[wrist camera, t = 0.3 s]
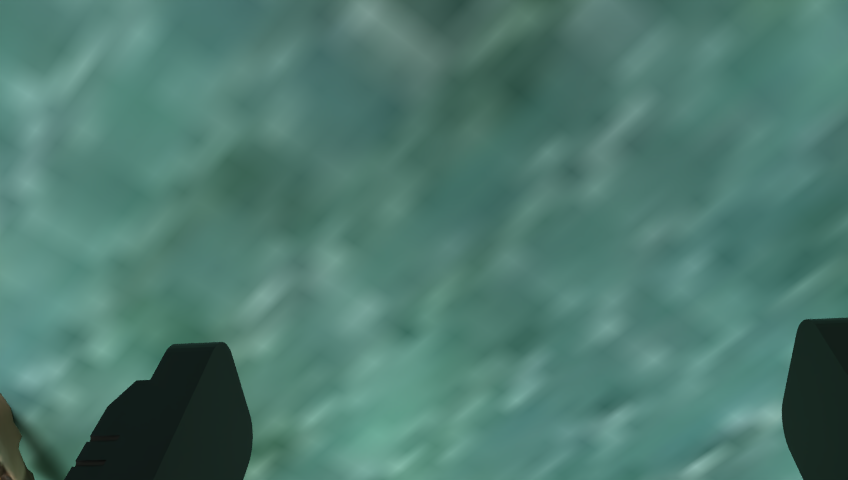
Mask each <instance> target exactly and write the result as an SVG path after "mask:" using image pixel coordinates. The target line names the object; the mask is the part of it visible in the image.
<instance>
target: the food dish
mask: <svg viewBox="0 0 848 480" xmlns="http://www.w3.org/2000/svg"><path fill="white" fill-rule="evenodd" d="M21 437H22V435H21V433H20V432H19V430H18V428H17V427H16V425H15V424H14V422H13V415H12V412H11V408H10V406H9V405H8V404H7V402H6V400H5V399H4V397H3V396H2V395H1V393H0V480H35V479H34V476H33V473H32V472H30V471H29V470H28V469H27V467H26V465H25V463H24V461H23V458H22V456H21V454H20V451H19V442H20V440H21Z"/></svg>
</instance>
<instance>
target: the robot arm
mask: <svg viewBox="0 0 848 480" xmlns="http://www.w3.org/2000/svg"><path fill="white" fill-rule="evenodd" d="M782 422H783V429H784V434H785V438H786V442H787V445H788V448H789V450H790V452H791V454H792V457H793V459H794V461H795V463H796V465H797V467H798V469H799V471H800V473H801V476H802V478H803V480H848V318H829V319H806V320H803V321H802V322H801V323H800V325H799V327H798V330H797V333H796V338H795V343H794V348H793V353H792V358H791V363H790V368H789V373H788V378H787V383H786V388H785V393H784V398H783V404H782ZM90 437H91V440H90V442H86V444H85V446H84V447H83V449H82V451H81V452H80V454H79V456H78V458H77V459H76V466H75V467H72V468H71V469H70V471H69V473H68V474H67V476H66V478H65V479H64V480H243V479H244V476H245V473H246V470H247V467H248V464H249V460H250V456H251V451H252V439H253V433H252V422H251V417H250V414H249V410H248V407H247V404H246V400H245V397H244V394H243V390H242V387H241V383H240V380H239V377H238V373H237V370H236V367H235V363H234V360H233V357H232V354H231V351H230V349H229V347H228V346H227V344H225V343H224V342H212V343H188V344H173V345H171V346H170V347H169V348H168V349H167V351H166V352H165V354H164V356H163V358H162V359H161V361H160V363H159V365H158V367H157V369H156V370H155V372H154V374H153V376H152V378H151V380H139V381H135V382H134V383H133V384H132V385H131V386H130V387H129V388H128V389H127V390H125V391H124V392H123V393H122V394H121V395H120V396H119V397H118V398H117V399H115V400H114V401H113V402H112V403H111V404H110V405H109V406H108V407H107V409H106V410H105V412H104V414H103V415H102V417H101V419H100V420H99V422H98V424H97V425H96V427H95V429H94V431H93V432H92V434H91V436H90Z"/></svg>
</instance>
